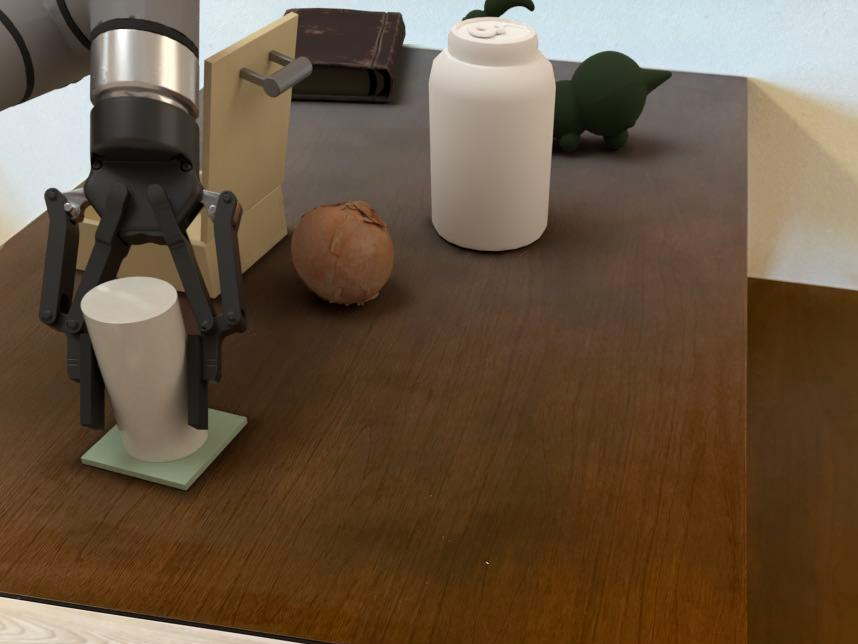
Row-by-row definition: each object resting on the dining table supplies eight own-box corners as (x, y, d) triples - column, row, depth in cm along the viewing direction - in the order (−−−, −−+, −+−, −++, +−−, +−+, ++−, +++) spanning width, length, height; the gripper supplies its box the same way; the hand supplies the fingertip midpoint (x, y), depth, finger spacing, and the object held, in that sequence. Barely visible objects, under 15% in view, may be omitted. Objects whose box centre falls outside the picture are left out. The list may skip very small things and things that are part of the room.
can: (461, 263, 99) (461, 54, 85) (413, 213, 106) (406, 14, 93) (568, 241, 103) (584, 39, 89) (514, 194, 111) (521, 2, 97)
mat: (82, 463, 73) (80, 457, 73) (150, 399, 80) (148, 393, 79) (186, 490, 72) (184, 484, 71) (247, 423, 78) (246, 417, 77)
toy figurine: (473, 173, 119) (674, 157, 119) (459, 3, 106) (685, -14, 106) (471, 143, 126) (661, 128, 126) (457, -20, 113) (670, -36, 113)
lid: (203, 59, 76) (255, 81, 76) (291, 11, 86) (337, 30, 86) (200, 241, 88) (244, 260, 88) (277, 179, 98) (317, 196, 98)
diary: (406, 45, 148) (405, 9, 145) (395, 104, 130) (393, 65, 127) (284, 41, 148) (280, 5, 144) (255, 100, 130) (250, 60, 126)
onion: (379, 309, 97) (417, 216, 93) (361, 335, 89) (402, 233, 84) (291, 268, 96) (325, 171, 91) (264, 290, 87) (300, 184, 83)
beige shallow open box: (74, 268, 95) (58, 217, 91) (158, 208, 105) (147, 160, 101) (214, 298, 92) (204, 246, 88) (287, 233, 102) (281, 184, 98)
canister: (105, 451, 74) (60, 312, 65) (153, 405, 78) (117, 269, 70) (179, 470, 72) (142, 330, 64) (223, 422, 77) (195, 286, 68)
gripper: (290, 140, 75) (291, 434, 74) (30, 135, 74) (28, 434, 73) (272, 93, 68) (273, 419, 67) (-19, 87, 66) (-21, 419, 66)
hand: (145, 426), depth 70 cm, fingers open, 7 cm apart
